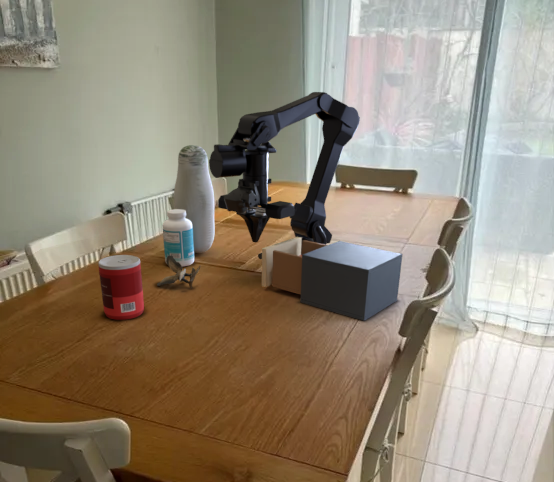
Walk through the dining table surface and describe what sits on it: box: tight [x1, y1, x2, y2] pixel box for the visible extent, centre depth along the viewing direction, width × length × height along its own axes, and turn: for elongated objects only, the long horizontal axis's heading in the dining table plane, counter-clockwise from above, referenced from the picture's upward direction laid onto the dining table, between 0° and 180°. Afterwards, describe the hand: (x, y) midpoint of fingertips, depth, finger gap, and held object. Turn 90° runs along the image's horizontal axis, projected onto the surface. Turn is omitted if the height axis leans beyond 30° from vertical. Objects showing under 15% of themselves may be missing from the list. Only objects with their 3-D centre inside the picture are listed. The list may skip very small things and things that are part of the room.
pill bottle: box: [161, 208, 195, 267], centre depth 138 cm, size 8×7×14 cm
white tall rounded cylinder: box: [173, 144, 216, 254], centre depth 145 cm, size 10×10×28 cm
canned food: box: [98, 254, 145, 321], centre depth 108 cm, size 8×8×11 cm
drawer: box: [257, 236, 328, 295], centre depth 124 cm, size 19×13×9 cm
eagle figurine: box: [156, 255, 202, 290], centre depth 124 cm, size 8×7×9 cm
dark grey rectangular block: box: [299, 240, 403, 322], centre depth 116 cm, size 16×15×11 cm
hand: (255, 242), depth 130 cm, fingers closed
